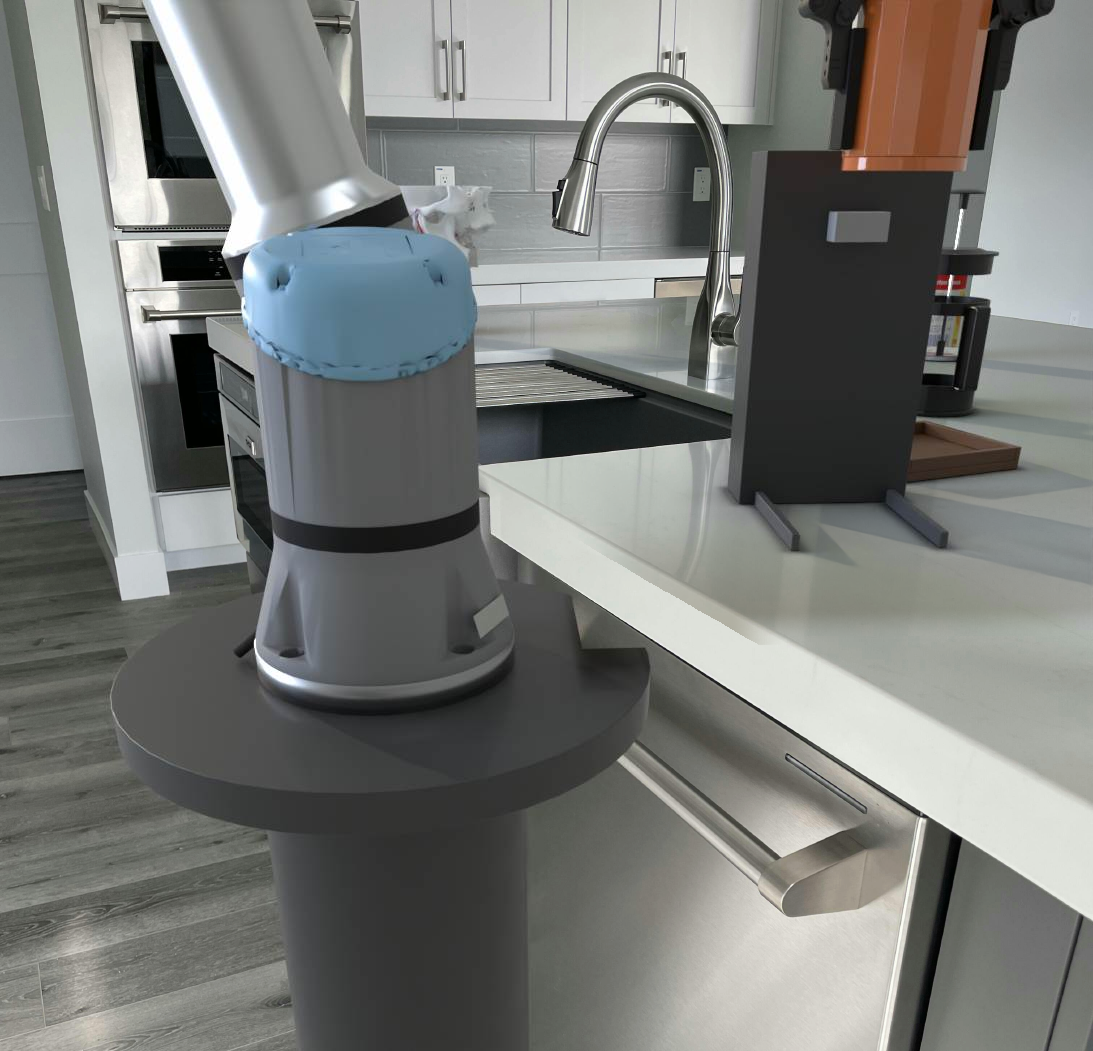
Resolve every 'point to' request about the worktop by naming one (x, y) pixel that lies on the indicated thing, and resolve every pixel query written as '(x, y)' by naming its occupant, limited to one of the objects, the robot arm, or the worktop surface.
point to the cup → (918, 84)
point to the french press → (957, 391)
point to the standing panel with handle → (833, 333)
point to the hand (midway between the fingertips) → (905, 149)
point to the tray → (956, 453)
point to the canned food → (952, 321)
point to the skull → (451, 214)
